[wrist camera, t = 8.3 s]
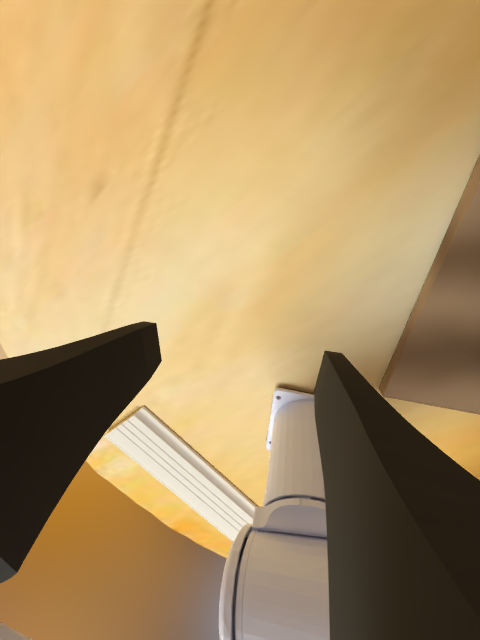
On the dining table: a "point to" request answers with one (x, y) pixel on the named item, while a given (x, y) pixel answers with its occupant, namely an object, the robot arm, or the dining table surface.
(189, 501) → the baseboard molding
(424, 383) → the brown slab
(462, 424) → the dining table surface
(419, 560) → the robot arm
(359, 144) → the dining table surface
